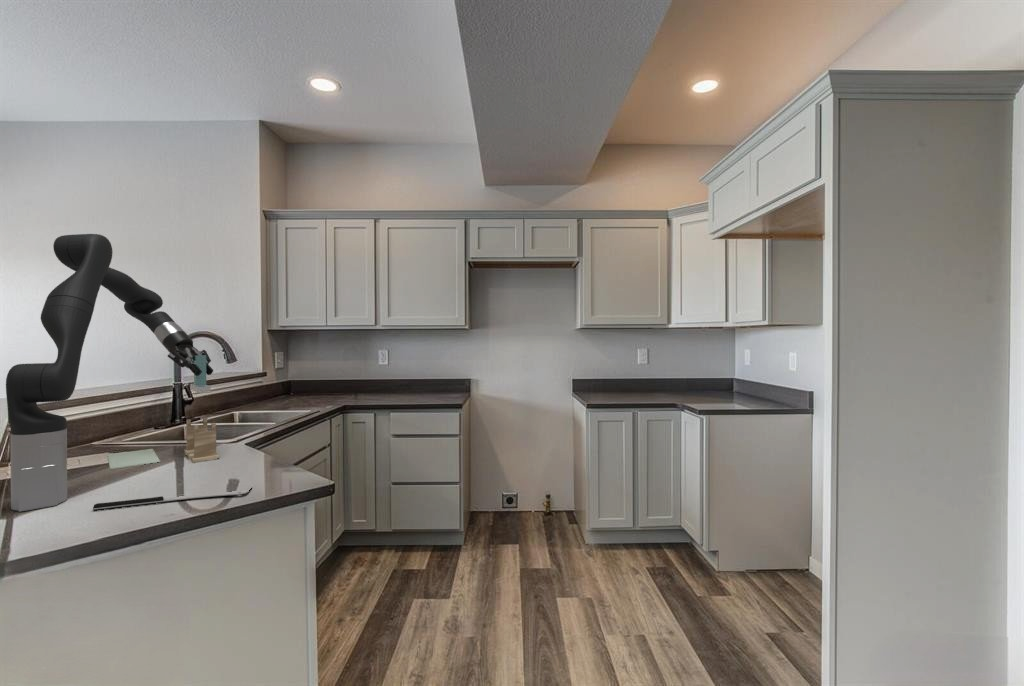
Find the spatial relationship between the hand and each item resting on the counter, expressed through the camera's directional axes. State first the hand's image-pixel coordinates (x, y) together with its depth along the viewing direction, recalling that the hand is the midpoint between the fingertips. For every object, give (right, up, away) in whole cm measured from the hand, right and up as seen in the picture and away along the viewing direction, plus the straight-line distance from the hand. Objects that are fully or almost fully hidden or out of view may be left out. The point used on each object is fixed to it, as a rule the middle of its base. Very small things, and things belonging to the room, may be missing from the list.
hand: (205, 373), depth 152 cm
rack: (-2, -28, 0) cm, 28 cm away
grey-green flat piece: (-2, -6, 0) cm, 6 cm away
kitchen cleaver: (+22, -28, -42) cm, 55 cm away
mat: (-22, -28, -3) cm, 35 cm away
